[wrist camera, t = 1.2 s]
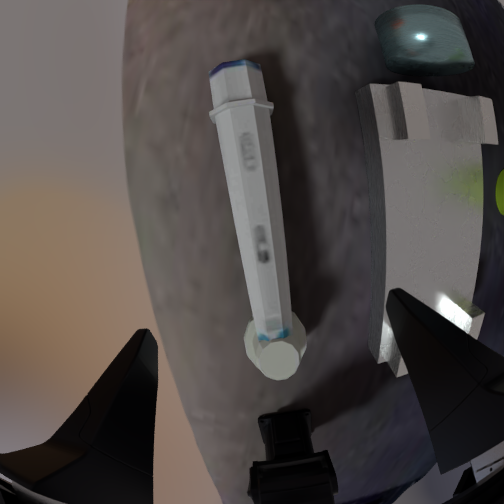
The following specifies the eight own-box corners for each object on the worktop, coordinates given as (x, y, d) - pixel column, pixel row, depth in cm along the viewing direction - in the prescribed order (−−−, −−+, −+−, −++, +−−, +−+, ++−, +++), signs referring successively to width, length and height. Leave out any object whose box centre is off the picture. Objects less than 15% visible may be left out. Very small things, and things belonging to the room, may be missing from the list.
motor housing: (451, 319, 27) (488, 355, 19) (367, 346, 27) (397, 397, 19) (441, 48, 17) (491, 29, 9) (340, 31, 17) (376, -11, 10)
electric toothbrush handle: (272, 54, 15) (317, 393, 20) (266, 89, 22) (303, 352, 26) (194, 65, 15) (251, 403, 20) (207, 98, 22) (250, 360, 26)
